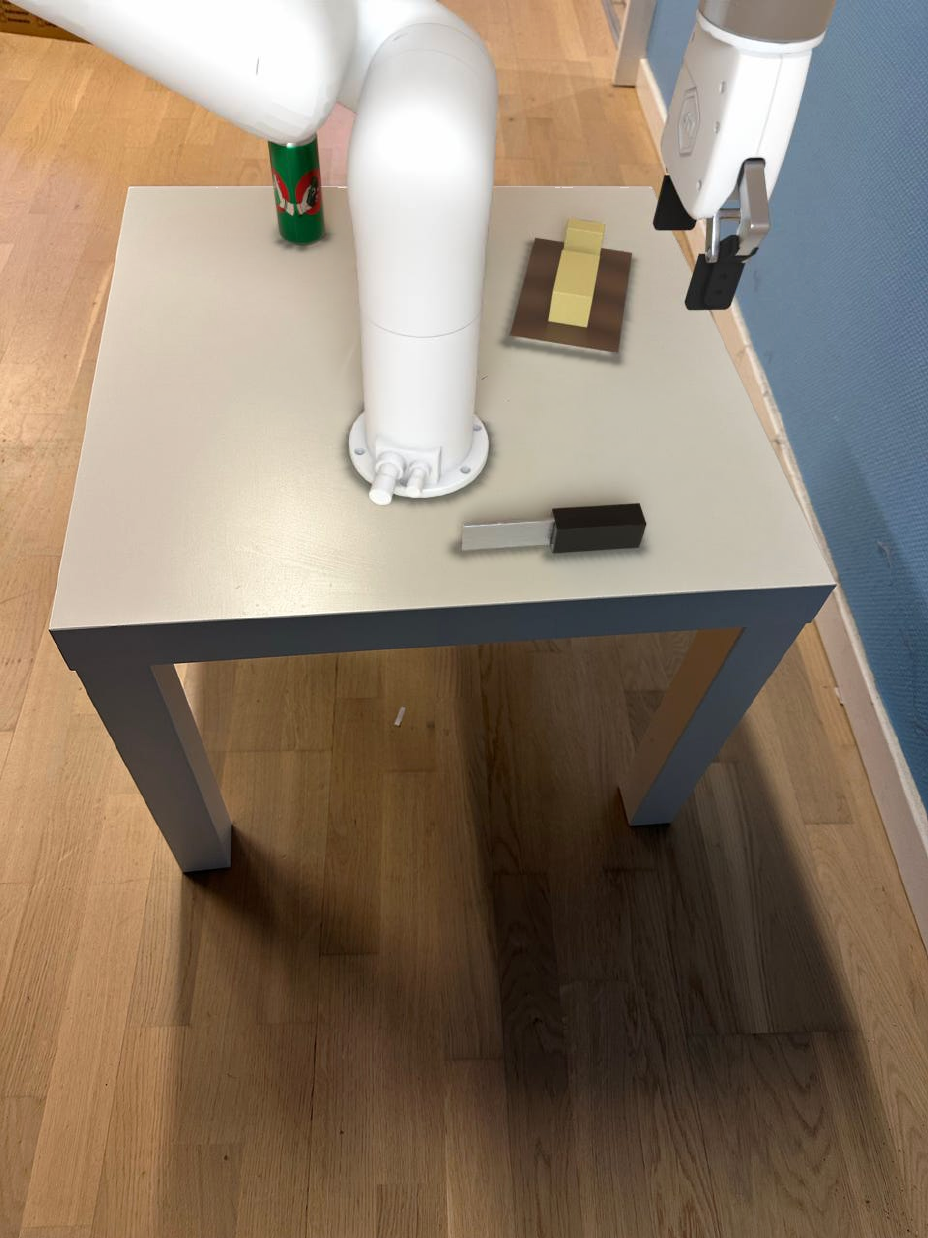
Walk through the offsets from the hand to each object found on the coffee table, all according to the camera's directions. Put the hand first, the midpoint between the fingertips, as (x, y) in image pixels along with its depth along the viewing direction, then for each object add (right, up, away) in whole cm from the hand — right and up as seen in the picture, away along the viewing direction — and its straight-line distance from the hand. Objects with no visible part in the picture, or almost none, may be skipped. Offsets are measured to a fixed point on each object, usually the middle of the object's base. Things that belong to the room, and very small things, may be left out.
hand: (688, 266), depth 65 cm
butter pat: (-3, +14, +34) cm, 37 cm away
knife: (-9, -19, +10) cm, 24 cm away
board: (-5, +8, +30) cm, 32 cm away
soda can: (-34, +17, +35) cm, 52 cm away
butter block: (-5, +7, +28) cm, 30 cm away
